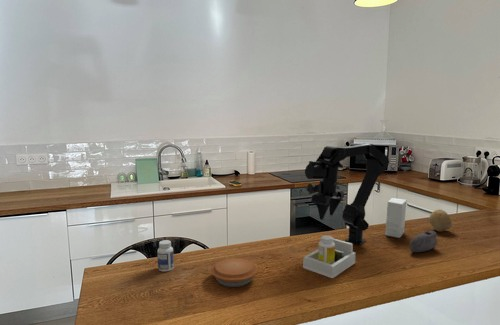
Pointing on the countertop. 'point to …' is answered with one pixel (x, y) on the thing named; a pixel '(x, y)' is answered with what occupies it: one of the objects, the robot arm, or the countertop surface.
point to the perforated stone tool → (423, 242)
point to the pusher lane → (336, 268)
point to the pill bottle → (165, 256)
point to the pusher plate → (338, 255)
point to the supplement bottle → (326, 250)
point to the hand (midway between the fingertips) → (326, 217)
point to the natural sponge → (440, 220)
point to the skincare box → (395, 217)
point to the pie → (234, 272)
